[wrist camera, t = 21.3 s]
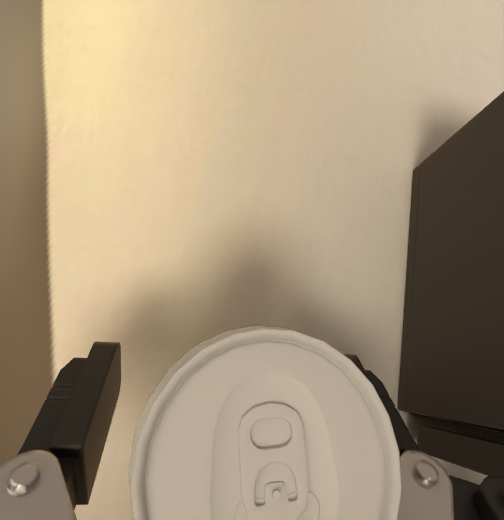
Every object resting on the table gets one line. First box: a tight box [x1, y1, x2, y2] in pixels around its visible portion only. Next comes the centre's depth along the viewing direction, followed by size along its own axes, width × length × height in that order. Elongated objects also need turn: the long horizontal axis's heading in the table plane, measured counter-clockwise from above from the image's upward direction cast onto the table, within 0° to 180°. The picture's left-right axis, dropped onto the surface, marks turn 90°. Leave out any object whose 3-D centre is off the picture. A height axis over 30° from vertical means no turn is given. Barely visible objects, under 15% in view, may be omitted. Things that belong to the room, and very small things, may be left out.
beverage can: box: [129, 325, 401, 520], centre depth 11 cm, size 5×5×12 cm
